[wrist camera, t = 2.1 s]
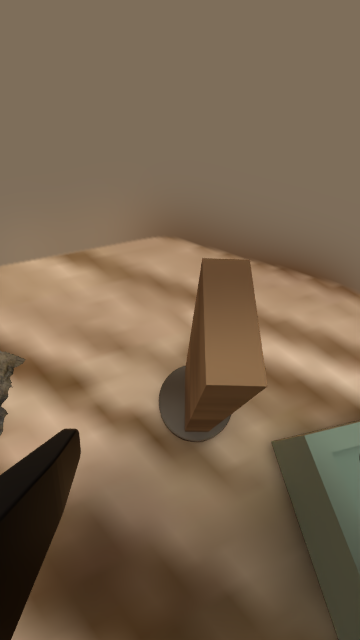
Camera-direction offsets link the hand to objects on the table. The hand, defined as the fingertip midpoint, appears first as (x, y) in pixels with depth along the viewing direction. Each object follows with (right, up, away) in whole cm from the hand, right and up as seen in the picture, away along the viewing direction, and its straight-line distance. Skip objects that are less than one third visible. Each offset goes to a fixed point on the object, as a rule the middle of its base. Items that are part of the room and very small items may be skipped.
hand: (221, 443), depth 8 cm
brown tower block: (0, -2, +11) cm, 11 cm away
